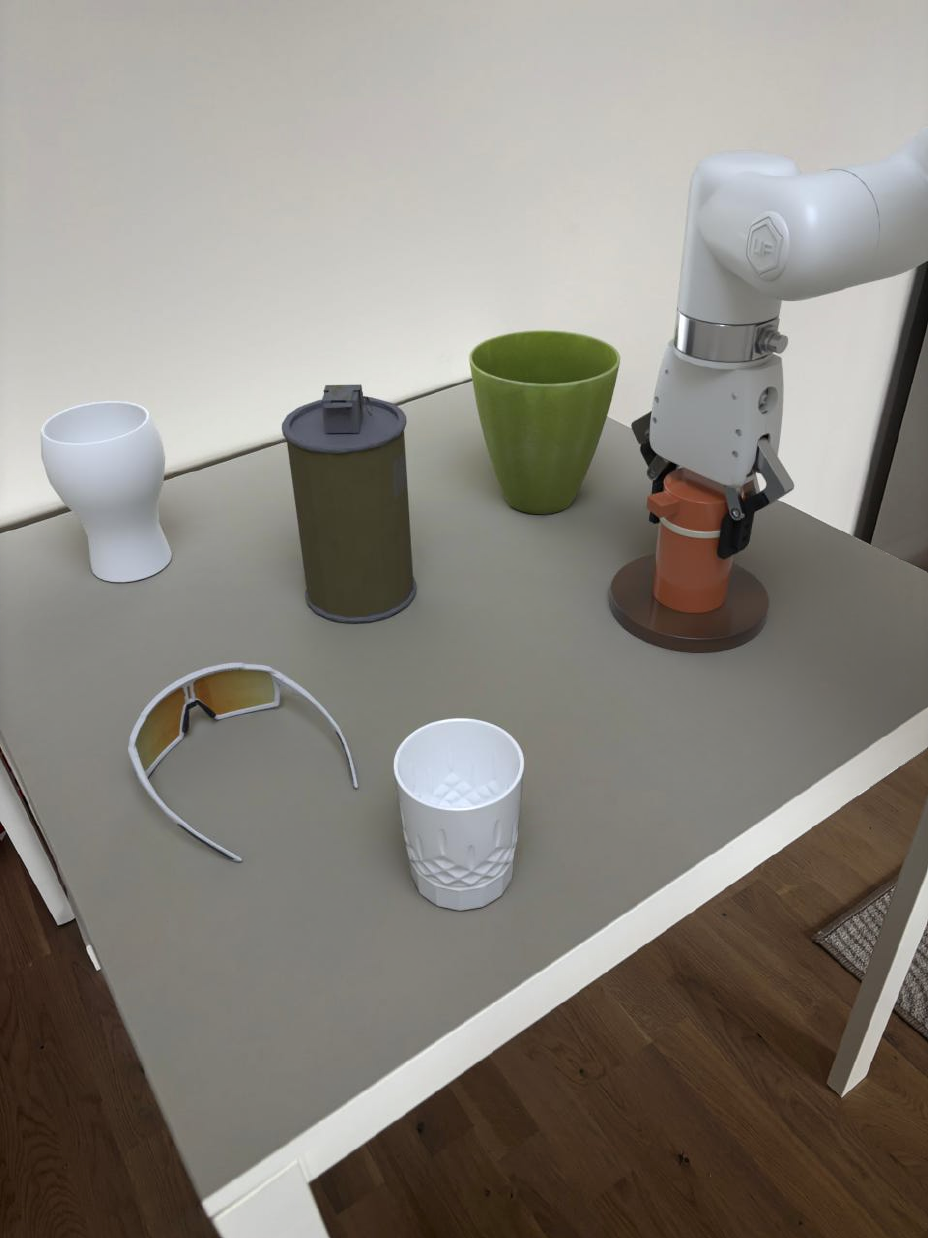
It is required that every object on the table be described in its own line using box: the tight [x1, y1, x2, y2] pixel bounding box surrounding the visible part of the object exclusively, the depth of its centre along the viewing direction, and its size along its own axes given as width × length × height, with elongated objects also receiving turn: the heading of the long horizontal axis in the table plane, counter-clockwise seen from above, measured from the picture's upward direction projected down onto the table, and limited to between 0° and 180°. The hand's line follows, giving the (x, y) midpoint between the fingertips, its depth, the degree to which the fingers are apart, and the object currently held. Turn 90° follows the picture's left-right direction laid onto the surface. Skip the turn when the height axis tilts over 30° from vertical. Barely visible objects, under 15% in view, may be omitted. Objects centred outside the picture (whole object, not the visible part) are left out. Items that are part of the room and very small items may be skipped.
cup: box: [40, 400, 173, 583], centre depth 92 cm, size 11×11×15 cm
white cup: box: [393, 717, 525, 912], centre depth 61 cm, size 8×8×10 cm
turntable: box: [609, 553, 770, 654], centre depth 88 cm, size 14×14×2 cm
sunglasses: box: [127, 662, 359, 862], centre depth 71 cm, size 14×15×5 cm
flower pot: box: [468, 329, 621, 515], centre depth 101 cm, size 15×15×16 cm
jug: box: [645, 467, 746, 613], centre depth 84 cm, size 10×7×11 cm, turn 116°
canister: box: [281, 384, 417, 624], centre depth 86 cm, size 11×10×20 cm
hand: (696, 533), depth 84 cm, fingers closed on jug, 6 cm apart
